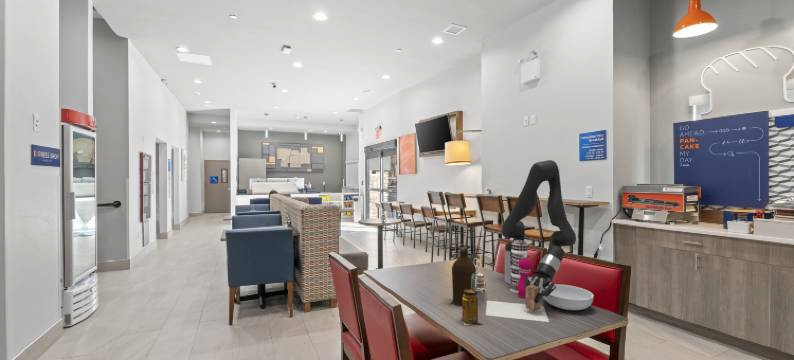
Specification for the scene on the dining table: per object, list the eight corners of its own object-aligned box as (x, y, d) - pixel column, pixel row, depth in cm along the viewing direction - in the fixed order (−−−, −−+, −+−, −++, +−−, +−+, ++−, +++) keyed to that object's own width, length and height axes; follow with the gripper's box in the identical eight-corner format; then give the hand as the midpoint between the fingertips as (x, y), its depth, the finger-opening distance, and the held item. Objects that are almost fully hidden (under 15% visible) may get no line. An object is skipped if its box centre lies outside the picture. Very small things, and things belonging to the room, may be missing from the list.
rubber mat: (487, 301, 165) (487, 300, 165) (543, 306, 159) (543, 306, 159) (485, 316, 148) (485, 315, 148) (549, 322, 141) (549, 321, 141)
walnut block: (525, 308, 151) (525, 286, 151) (532, 305, 154) (532, 284, 154) (533, 311, 148) (533, 289, 148) (540, 308, 151) (540, 287, 151)
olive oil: (449, 306, 159) (450, 249, 158) (453, 298, 169) (454, 244, 168) (474, 309, 155) (474, 251, 155) (476, 301, 165) (477, 246, 165)
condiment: (459, 318, 145) (459, 288, 145) (479, 317, 146) (480, 288, 146) (464, 325, 138) (464, 294, 138) (485, 325, 139) (486, 293, 139)
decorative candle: (507, 287, 186) (507, 238, 186) (525, 287, 186) (526, 239, 185) (512, 293, 177) (512, 242, 177) (531, 293, 177) (532, 242, 176)
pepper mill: (515, 298, 170) (515, 255, 169) (517, 293, 176) (518, 252, 176) (531, 300, 166) (532, 257, 166) (533, 296, 173) (534, 254, 172)
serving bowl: (551, 315, 149) (552, 298, 149) (534, 298, 170) (534, 283, 170) (603, 316, 149) (603, 299, 149) (579, 299, 170) (579, 284, 170)
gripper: (530, 259, 161) (512, 291, 154) (560, 265, 149) (542, 300, 143) (537, 269, 164) (520, 301, 157) (567, 276, 152) (549, 311, 146)
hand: (530, 300), depth 150 cm, fingers closed on walnut block, 4 cm apart
